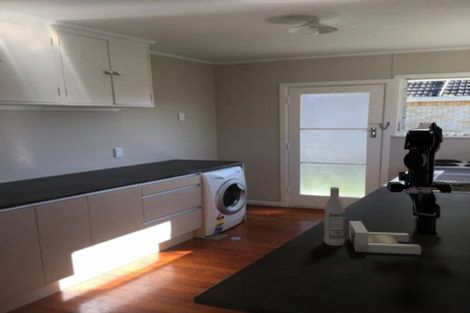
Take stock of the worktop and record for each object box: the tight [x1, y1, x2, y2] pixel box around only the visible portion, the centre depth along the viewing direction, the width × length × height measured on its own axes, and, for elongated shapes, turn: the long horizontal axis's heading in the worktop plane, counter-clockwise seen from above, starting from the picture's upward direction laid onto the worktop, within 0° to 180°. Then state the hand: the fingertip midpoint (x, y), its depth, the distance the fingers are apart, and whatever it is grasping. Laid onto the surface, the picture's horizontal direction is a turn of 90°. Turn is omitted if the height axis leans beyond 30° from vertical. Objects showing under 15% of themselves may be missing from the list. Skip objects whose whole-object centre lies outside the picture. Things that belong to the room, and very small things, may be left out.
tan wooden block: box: [354, 234, 400, 244], centre depth 120 cm, size 13×8×3 cm, turn 81°
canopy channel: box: [348, 220, 422, 255], centre depth 120 cm, size 20×14×6 cm
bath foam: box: [323, 186, 346, 247], centre depth 123 cm, size 7×7×20 cm
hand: (417, 212), depth 117 cm, fingers closed
